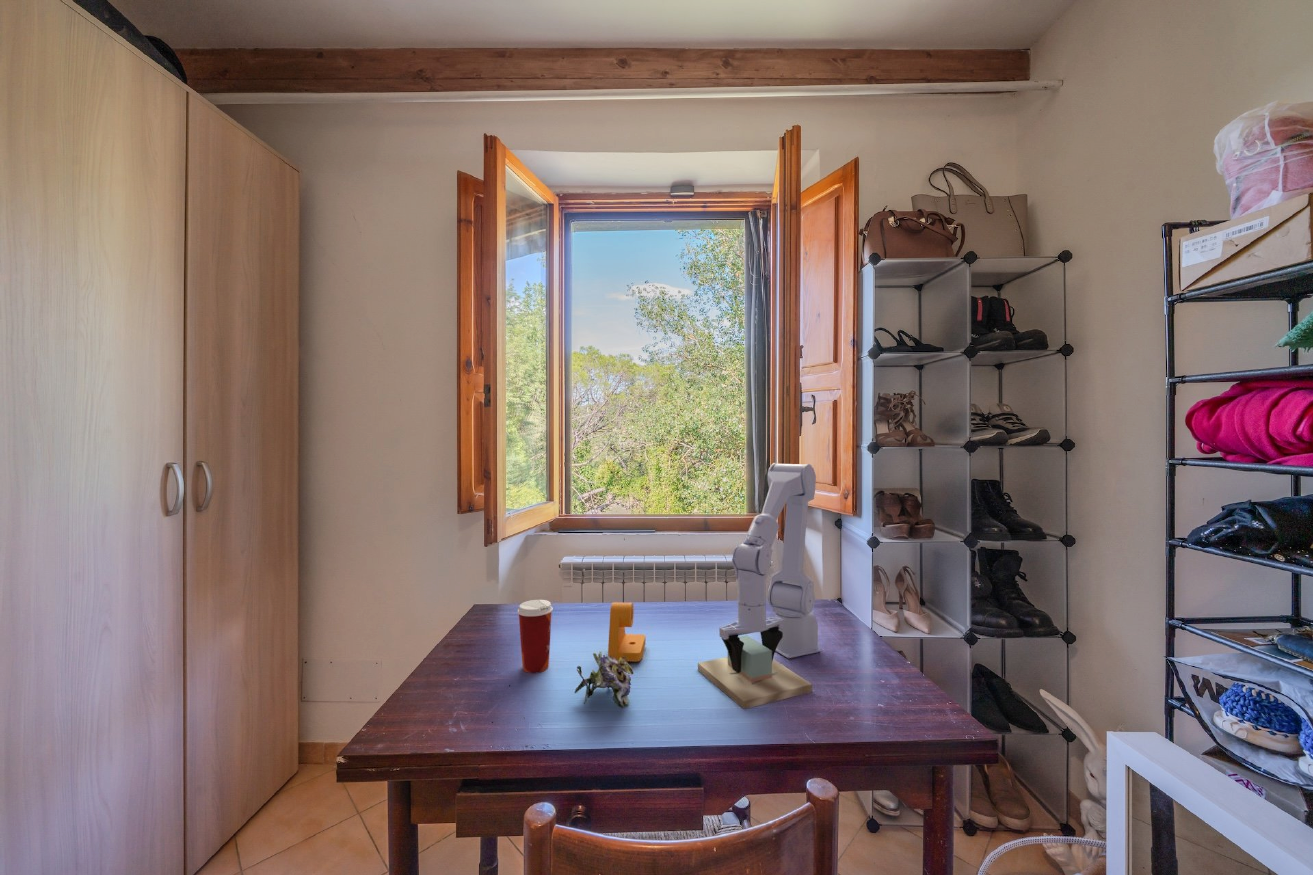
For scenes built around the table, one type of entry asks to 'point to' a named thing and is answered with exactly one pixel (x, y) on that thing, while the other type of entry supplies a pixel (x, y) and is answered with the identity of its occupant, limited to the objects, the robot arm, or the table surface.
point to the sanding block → (754, 660)
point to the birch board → (754, 683)
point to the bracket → (618, 640)
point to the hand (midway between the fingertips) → (752, 667)
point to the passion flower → (609, 678)
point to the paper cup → (535, 634)
